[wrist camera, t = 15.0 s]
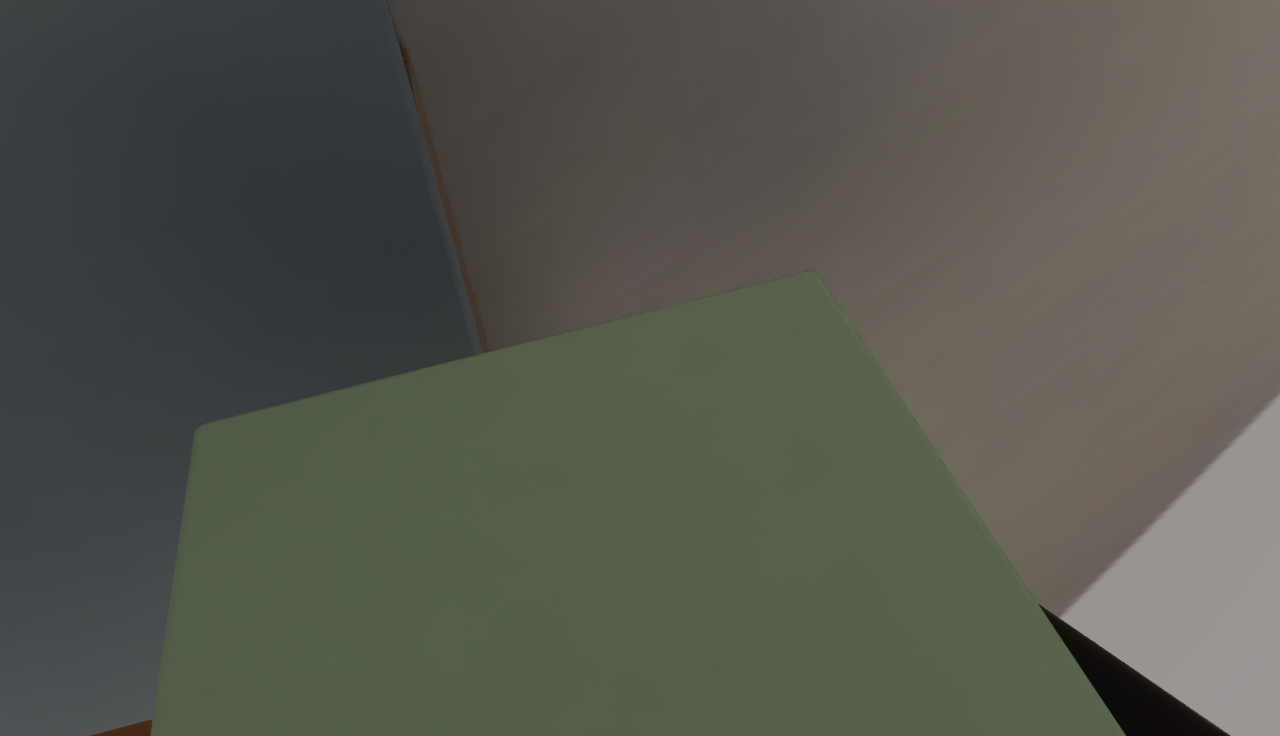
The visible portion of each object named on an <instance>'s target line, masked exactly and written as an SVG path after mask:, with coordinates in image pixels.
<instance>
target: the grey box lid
mask: <svg viewBox="0 0 1280 736" xmlns="http://www.w3.org/2000/svg"><path fill="white" fill-rule="evenodd" d="M482 353H483V350H482V347H481V343H480V339H479V336H478V332H477V328H476V325H475V321H474V317H473V314H472V310H471V306H470V303H469V299H468V295H467V292H466V288H465V285H464V281H463V277H462V274H461V270H460V266H459V263H458V259H457V255H456V252H455V248H454V244H453V241H452V237H451V233H450V230H449V226H448V222H447V219H446V215H445V211H444V208H443V204H442V200H441V197H440V193H439V189H438V186H437V182H436V179H435V175H434V171H433V168H432V164H431V160H430V157H429V153H428V149H427V146H426V142H425V138H424V135H423V131H422V127H421V124H420V120H419V116H418V113H417V109H416V105H415V102H414V98H413V94H412V91H411V87H410V84H409V80H408V76H407V73H406V69H405V65H404V62H403V58H402V54H401V51H400V47H399V43H398V40H397V36H396V32H395V29H394V25H393V21H392V18H391V14H390V10H389V7H388V3H387V0H0V736H90V735H94V734H98V733H101V732H105V731H109V730H113V729H117V728H120V727H124V726H128V725H132V724H136V723H139V722H143V721H147V720H151V719H153V714H154V707H155V700H156V694H157V687H158V680H159V673H160V666H161V659H162V653H163V646H164V639H165V632H166V625H167V618H168V611H169V605H170V598H171V591H172V584H173V577H174V570H175V564H176V557H177V550H178V543H179V536H180V529H181V522H182V516H183V509H184V502H185V495H186V488H187V481H188V475H189V468H190V461H191V454H192V447H193V440H194V433H195V430H196V429H197V428H198V427H199V426H201V425H203V424H205V423H209V422H213V421H217V420H221V419H225V418H229V417H233V416H237V415H241V414H245V413H248V412H252V411H256V410H260V409H264V408H268V407H272V406H276V405H280V404H284V403H288V402H292V401H296V400H300V399H304V398H308V397H312V396H316V395H320V394H324V393H328V392H331V391H335V390H339V389H343V388H347V387H351V386H355V385H359V384H363V383H367V382H371V381H375V380H379V379H383V378H387V377H391V376H395V375H399V374H403V373H407V372H411V371H414V370H418V369H422V368H426V367H430V366H434V365H438V364H442V363H446V362H450V361H454V360H458V359H462V358H466V357H470V356H474V355H478V354H482Z"/></svg>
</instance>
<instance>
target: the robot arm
mask: <svg viewBox="0 0 1280 736" xmlns="http://www.w3.org/2000/svg"><path fill="white" fill-rule="evenodd" d="M1038 605H1039V604H1038ZM1039 606H1040V608H1041V609H1042V611H1043V612H1044V614H1045V615H1046V617H1047V618H1048V620H1049V621H1050V623H1051V624H1052V626H1053V627H1054V629H1055V630H1056V632H1057V633H1058V635H1059V636H1060V638H1061V639H1062V641H1063V642H1064V644H1065V645H1066V647H1067V648H1068V650H1069V651H1070V653H1071V654H1072V656H1073V657H1074V659H1075V660H1076V662H1077V663H1078V665H1079V666H1080V668H1081V669H1082V671H1083V672H1084V674H1085V675H1086V677H1087V678H1088V680H1089V681H1090V683H1091V684H1092V686H1093V687H1094V689H1095V690H1096V692H1097V693H1098V695H1099V696H1100V698H1101V699H1102V701H1103V702H1104V704H1105V705H1106V707H1107V708H1108V710H1109V711H1110V713H1111V714H1112V716H1113V717H1114V719H1115V720H1116V722H1117V723H1118V725H1119V726H1120V728H1121V729H1122V731H1123V732H1124V734H1125V735H1126V736H1230V735H1229V734H1227V733H1226V732H1224V731H1223V730H1221V729H1220V728H1219V727H1217V726H1216V725H1214V724H1213V723H1211V722H1210V721H1208V720H1207V719H1205V718H1204V717H1202V716H1201V715H1199V714H1198V713H1197V712H1195V711H1194V710H1192V709H1191V708H1189V707H1188V706H1186V705H1185V704H1184V703H1182V702H1181V701H1179V700H1178V699H1176V698H1175V697H1173V696H1172V695H1170V694H1169V693H1167V692H1166V691H1164V690H1163V689H1162V688H1160V687H1159V686H1157V685H1156V684H1154V683H1153V682H1152V681H1150V680H1149V679H1147V678H1145V677H1144V676H1143V675H1141V674H1140V673H1138V672H1137V671H1135V670H1134V669H1133V668H1131V667H1130V666H1128V665H1127V664H1125V663H1124V662H1122V661H1121V660H1119V659H1118V658H1116V657H1115V656H1114V655H1112V654H1111V653H1109V652H1108V651H1106V650H1105V649H1103V648H1102V647H1100V646H1099V645H1098V644H1096V643H1095V642H1093V641H1092V640H1090V639H1089V638H1087V637H1086V636H1084V635H1083V634H1082V633H1080V632H1079V631H1077V630H1076V629H1074V628H1073V627H1071V626H1070V625H1068V624H1067V623H1065V622H1064V621H1063V620H1061V619H1060V618H1058V617H1057V616H1055V615H1054V614H1052V613H1051V612H1049V611H1048V610H1047V609H1045V608H1044V607H1042V606H1041V605H1039Z"/></svg>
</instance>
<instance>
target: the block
mask: <svg viewBox="0 0 1280 736" xmlns="http://www.w3.org/2000/svg"><path fill="white" fill-rule="evenodd" d="M150 736H1126V735H1125V734H1124V732H1123V731H1122V729H1121V728H1120V726H1119V725H1118V723H1117V722H1116V720H1115V719H1114V717H1113V716H1112V714H1111V713H1110V711H1109V710H1108V708H1107V707H1106V705H1105V704H1104V702H1103V701H1102V699H1101V698H1100V696H1099V695H1098V693H1097V692H1096V690H1095V689H1094V687H1093V686H1092V684H1091V683H1090V681H1089V680H1088V678H1087V677H1086V675H1085V674H1084V672H1083V671H1082V669H1081V668H1080V666H1079V665H1078V663H1077V662H1076V660H1075V659H1074V657H1073V656H1072V654H1071V653H1070V651H1069V650H1068V648H1067V647H1066V645H1065V644H1064V642H1063V641H1062V639H1061V638H1060V636H1059V635H1058V633H1057V632H1056V630H1055V629H1054V627H1053V626H1052V624H1051V623H1050V621H1049V620H1048V618H1047V617H1046V615H1045V614H1044V612H1043V611H1042V609H1041V608H1040V606H1039V605H1038V603H1037V602H1036V600H1035V599H1034V597H1033V596H1032V594H1031V593H1030V591H1029V590H1028V588H1027V587H1026V585H1025V584H1024V582H1023V581H1022V579H1021V578H1020V576H1019V575H1018V573H1017V572H1016V570H1015V569H1014V567H1013V566H1012V564H1011V563H1010V561H1009V560H1008V558H1007V557H1006V555H1005V554H1004V552H1003V551H1002V549H1001V548H1000V546H999V545H998V543H997V542H996V540H995V539H994V537H993V536H992V534H991V533H990V531H989V530H988V528H987V527H986V525H985V524H984V522H983V521H982V519H981V518H980V516H979V515H978V513H977V512H976V510H975V509H974V507H973V506H972V504H971V503H970V501H969V500H968V498H967V497H966V495H965V494H964V492H963V491H962V489H961V488H960V486H959V485H958V483H957V482H956V480H955V479H954V477H953V476H952V474H951V473H950V471H949V470H948V468H947V467H946V465H945V464H944V462H943V461H942V459H941V458H940V456H939V455H938V453H937V452H936V450H935V449H934V447H933V446H932V444H931V443H930V441H929V440H928V438H927V437H926V435H925V434H924V432H923V431H922V429H921V428H920V426H919V425H918V423H917V422H916V420H915V419H914V417H913V416H912V414H911V413H910V411H909V410H908V408H907V407H906V405H905V404H904V402H903V401H902V399H901V398H900V396H899V395H898V393H897V392H896V390H895V389H894V387H893V386H892V384H891V383H890V381H889V380H888V378H887V377H886V375H885V374H884V372H883V371H882V369H881V368H880V366H879V365H878V363H877V362H876V360H875V359H874V357H873V356H872V354H871V353H870V351H869V350H868V348H867V347H866V345H865V344H864V342H863V341H862V339H861V338H860V336H859V335H858V333H857V332H856V330H855V329H854V327H853V326H852V324H851V323H850V321H849V320H848V318H847V317H846V315H845V314H844V312H843V311H842V309H841V308H840V306H839V305H838V303H837V302H836V300H835V299H834V297H833V296H832V294H831V293H830V291H829V290H828V288H827V287H826V285H825V284H824V282H823V281H822V279H821V278H820V276H819V275H818V273H816V272H814V271H806V272H802V273H798V274H794V275H790V276H786V277H782V278H778V279H774V280H770V281H766V282H762V283H758V284H754V285H750V286H746V287H742V288H738V289H735V290H731V291H727V292H723V293H719V294H715V295H711V296H707V297H703V298H699V299H695V300H691V301H687V302H683V303H679V304H675V305H671V306H667V307H663V308H659V309H655V310H652V311H648V312H644V313H640V314H636V315H632V316H628V317H624V318H620V319H616V320H612V321H608V322H604V323H600V324H596V325H592V326H588V327H584V328H580V329H576V330H573V331H569V332H565V333H561V334H557V335H553V336H549V337H545V338H541V339H537V340H533V341H529V342H525V343H521V344H517V345H513V346H509V347H505V348H501V349H497V350H493V351H490V352H486V353H482V354H478V355H474V356H470V357H466V358H462V359H458V360H454V361H450V362H446V363H442V364H438V365H434V366H430V367H426V368H422V369H418V370H414V371H411V372H407V373H403V374H399V375H395V376H391V377H387V378H383V379H379V380H375V381H371V382H367V383H363V384H359V385H355V386H351V387H347V388H343V389H339V390H335V391H331V392H328V393H324V394H320V395H316V396H312V397H308V398H304V399H300V400H296V401H292V402H288V403H284V404H280V405H276V406H272V407H268V408H264V409H260V410H256V411H252V412H248V413H245V414H241V415H237V416H233V417H229V418H225V419H221V420H217V421H213V422H209V423H205V424H203V425H201V426H199V427H198V428H197V429H196V430H195V433H194V440H193V447H192V454H191V461H190V468H189V475H188V481H187V488H186V495H185V502H184V509H183V516H182V522H181V529H180V536H179V543H178V550H177V557H176V564H175V570H174V577H173V584H172V591H171V598H170V605H169V611H168V618H167V625H166V632H165V639H164V646H163V653H162V659H161V666H160V673H159V680H158V687H157V694H156V700H155V707H154V714H153V721H152V728H151V735H150Z"/></svg>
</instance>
